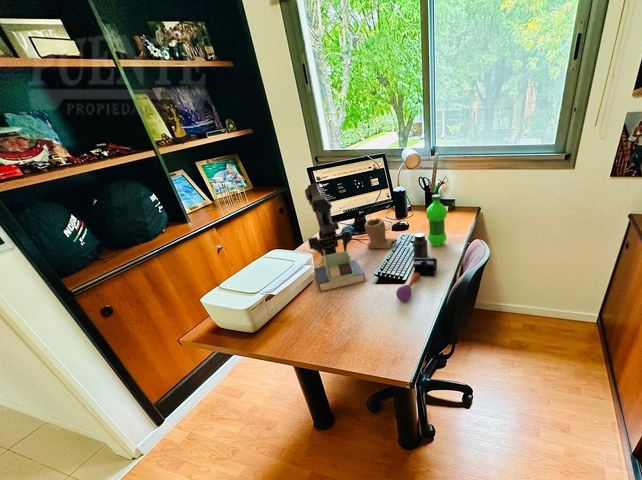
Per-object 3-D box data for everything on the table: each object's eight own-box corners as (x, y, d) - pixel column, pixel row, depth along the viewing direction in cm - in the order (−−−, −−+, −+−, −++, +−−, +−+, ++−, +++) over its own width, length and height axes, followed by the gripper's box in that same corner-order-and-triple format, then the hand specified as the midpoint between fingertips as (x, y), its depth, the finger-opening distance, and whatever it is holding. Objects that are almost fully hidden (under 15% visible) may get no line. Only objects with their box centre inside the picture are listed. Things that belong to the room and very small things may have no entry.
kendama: (424, 271, 139) (409, 292, 123) (422, 283, 142) (407, 305, 126) (411, 268, 140) (394, 288, 124) (409, 280, 144) (393, 301, 128)
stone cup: (364, 250, 172) (359, 223, 163) (372, 241, 181) (368, 215, 172) (391, 252, 168) (387, 224, 159) (398, 243, 177) (395, 215, 168)
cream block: (329, 276, 141) (327, 267, 139) (339, 273, 142) (337, 265, 140) (331, 280, 138) (329, 271, 136) (341, 277, 139) (339, 269, 137)
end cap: (437, 269, 148) (436, 255, 144) (435, 276, 143) (435, 262, 139) (415, 269, 150) (414, 255, 146) (413, 276, 145) (412, 262, 141)
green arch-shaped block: (327, 276, 142) (322, 255, 137) (351, 271, 145) (347, 250, 139) (330, 282, 138) (324, 261, 132) (354, 277, 140) (350, 255, 134)
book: (316, 276, 152) (313, 268, 150) (357, 266, 157) (355, 259, 155) (320, 291, 140) (318, 283, 138) (365, 281, 145) (363, 273, 142)
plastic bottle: (444, 248, 166) (444, 198, 152) (425, 247, 169) (422, 198, 155) (449, 240, 174) (449, 192, 159) (430, 239, 177) (428, 192, 163)
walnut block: (340, 273, 143) (338, 265, 140) (349, 271, 144) (347, 262, 141) (342, 277, 139) (340, 269, 137) (351, 275, 140) (349, 266, 138)
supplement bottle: (411, 257, 161) (410, 234, 154) (424, 254, 163) (423, 231, 156) (417, 262, 156) (416, 238, 149) (430, 259, 158) (429, 235, 151)
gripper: (302, 220, 134) (312, 254, 131) (347, 212, 138) (357, 245, 136) (305, 232, 144) (314, 264, 142) (346, 224, 149) (356, 255, 146)
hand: (335, 257), depth 141 cm, fingers open, 9 cm apart
